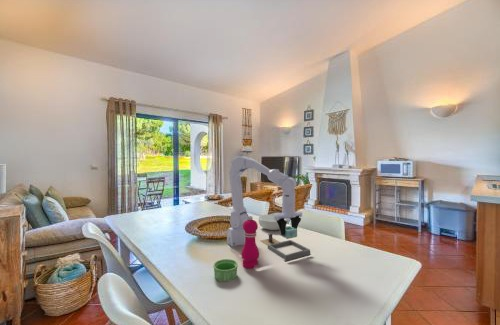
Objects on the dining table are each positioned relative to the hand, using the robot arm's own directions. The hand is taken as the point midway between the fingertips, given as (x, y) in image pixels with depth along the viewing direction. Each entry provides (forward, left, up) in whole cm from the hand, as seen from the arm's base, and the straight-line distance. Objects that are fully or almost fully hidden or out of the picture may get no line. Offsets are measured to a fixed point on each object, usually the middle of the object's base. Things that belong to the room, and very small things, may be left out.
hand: (288, 233), depth 105 cm
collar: (0, 0, -1) cm, 1 cm away
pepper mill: (-21, -2, -9) cm, 23 cm away
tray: (0, 0, -9) cm, 9 cm away
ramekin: (-33, -5, -9) cm, 35 cm away
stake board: (-1, +13, -9) cm, 16 cm away
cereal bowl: (+13, +32, -9) cm, 36 cm away
